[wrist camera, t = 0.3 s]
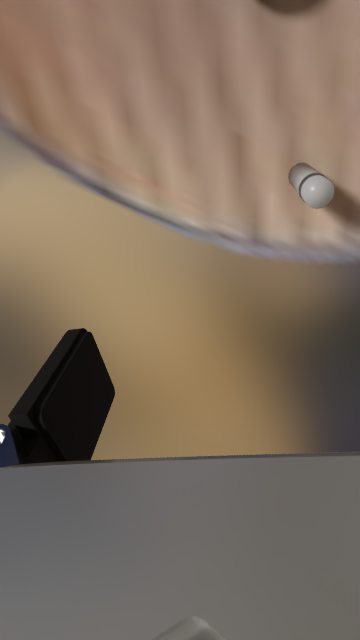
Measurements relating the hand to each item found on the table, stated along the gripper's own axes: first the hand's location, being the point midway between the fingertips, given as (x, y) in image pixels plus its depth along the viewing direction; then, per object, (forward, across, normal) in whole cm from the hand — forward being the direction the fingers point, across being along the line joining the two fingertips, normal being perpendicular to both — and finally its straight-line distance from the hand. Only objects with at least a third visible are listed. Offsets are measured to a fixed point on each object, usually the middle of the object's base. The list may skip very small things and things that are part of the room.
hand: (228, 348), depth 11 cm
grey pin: (+30, -8, +1) cm, 31 cm away
